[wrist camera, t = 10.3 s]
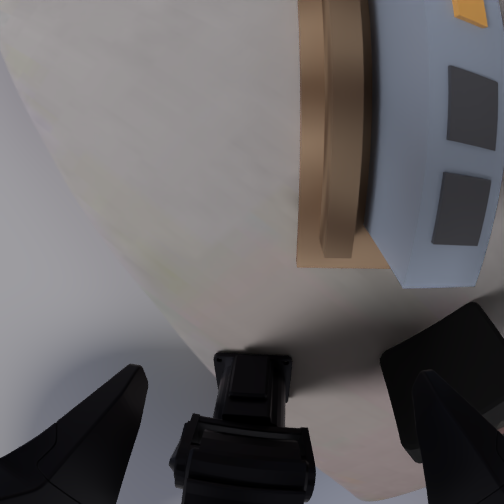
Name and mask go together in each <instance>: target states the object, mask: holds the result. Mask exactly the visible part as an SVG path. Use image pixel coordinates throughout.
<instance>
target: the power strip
mask: <svg viewBox="0 0 504 504" xmlns="http://www.w3.org/2000/svg"><path fill="white" fill-rule="evenodd" d="M368 4H369V15H370V29H371V48H372V128H371V148H370V164H369V176H368V188H367V198H366V207H365V216H364V224H363V225H364V227H365V228H366V230H367V231H368V233H369V234H370V236H371V237H372V239H373V240H374V242H375V243H376V245H377V247H378V248H379V250H380V251H381V253H382V255H383V256H384V258H385V259H386V261H387V263H388V264H389V266H390V268H391V269H392V271H393V273H394V274H395V276H396V278H397V279H398V281H399V283H400V284H401V286H402V288H445V287H474V286H475V284H476V282H477V279H478V276H479V273H480V270H481V266H482V263H483V260H484V257H485V253H486V250H487V246H488V242H489V239H490V235H491V231H492V227H493V222H494V218H495V214H496V209H497V204H498V199H499V193H500V188H501V182H502V175H503V168H504V29H503V23H502V17H501V11H500V6H499V1H498V0H368Z"/></svg>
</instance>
